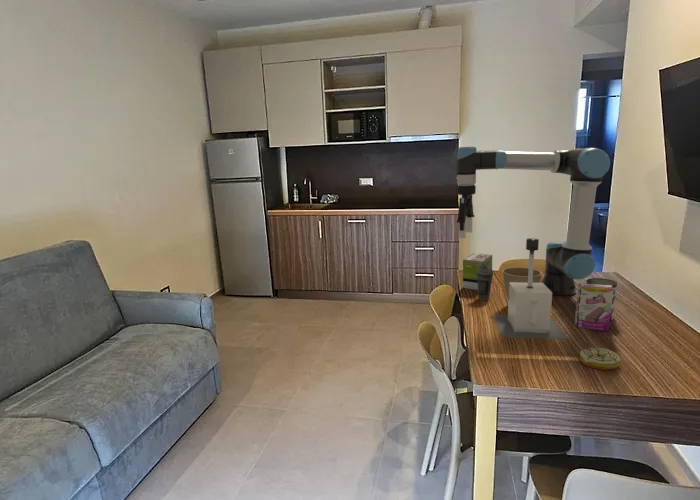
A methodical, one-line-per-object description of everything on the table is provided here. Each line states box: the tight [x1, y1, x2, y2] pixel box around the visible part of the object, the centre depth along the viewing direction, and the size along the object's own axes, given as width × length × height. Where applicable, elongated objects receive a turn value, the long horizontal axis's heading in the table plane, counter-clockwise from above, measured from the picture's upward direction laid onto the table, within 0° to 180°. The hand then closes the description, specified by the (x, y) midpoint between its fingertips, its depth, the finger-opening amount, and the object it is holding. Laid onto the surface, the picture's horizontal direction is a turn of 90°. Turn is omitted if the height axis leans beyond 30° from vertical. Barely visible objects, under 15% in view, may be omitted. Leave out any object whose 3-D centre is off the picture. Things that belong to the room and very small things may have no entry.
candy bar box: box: [574, 282, 615, 333], centre depth 157 cm, size 11×5×16 cm, turn 71°
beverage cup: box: [476, 256, 494, 301], centre depth 193 cm, size 7×7×20 cm
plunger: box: [525, 237, 540, 288], centre depth 156 cm, size 10×10×24 cm
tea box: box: [462, 252, 493, 291], centre depth 212 cm, size 15×10×15 cm, turn 144°
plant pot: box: [502, 267, 543, 302], centre depth 180 cm, size 15×15×16 cm
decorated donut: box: [579, 347, 621, 371], centre depth 133 cm, size 10×11×4 cm
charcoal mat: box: [492, 314, 570, 340], centre depth 160 cm, size 22×22×1 cm
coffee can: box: [586, 277, 618, 321], centre depth 168 cm, size 10×10×14 cm
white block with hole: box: [507, 282, 553, 333], centre depth 157 cm, size 12×15×15 cm
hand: (465, 235), depth 184 cm, fingers open, 13 cm apart
